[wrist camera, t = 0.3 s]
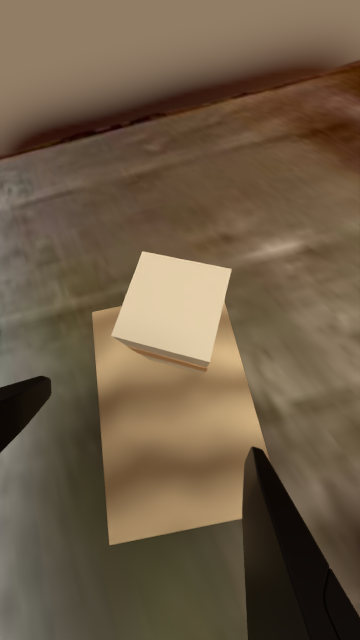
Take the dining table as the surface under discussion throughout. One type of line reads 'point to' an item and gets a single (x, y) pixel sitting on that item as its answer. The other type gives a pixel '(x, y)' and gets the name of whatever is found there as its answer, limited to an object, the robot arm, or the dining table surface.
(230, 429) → the board
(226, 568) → the dining table surface
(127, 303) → the carton
